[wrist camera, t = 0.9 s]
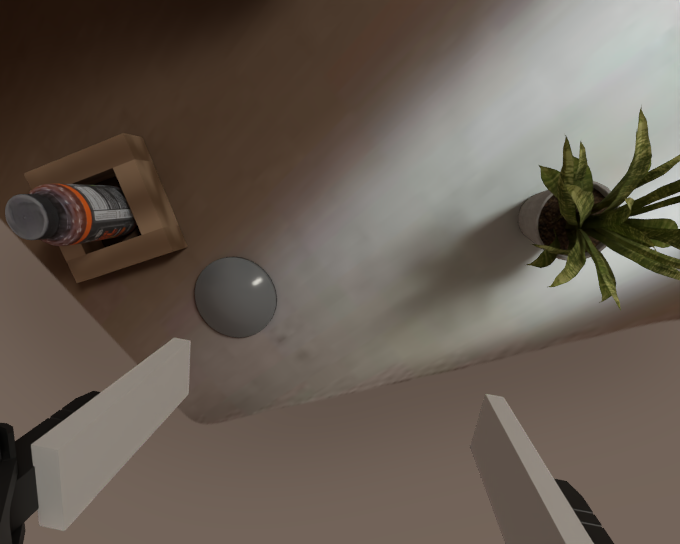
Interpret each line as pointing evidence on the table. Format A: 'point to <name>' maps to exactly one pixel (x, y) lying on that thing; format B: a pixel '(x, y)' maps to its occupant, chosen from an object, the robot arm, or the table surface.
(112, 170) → the pocket holder
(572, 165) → the house plant
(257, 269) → the grey domed disc
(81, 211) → the supplement bottle
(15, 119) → the table surface
